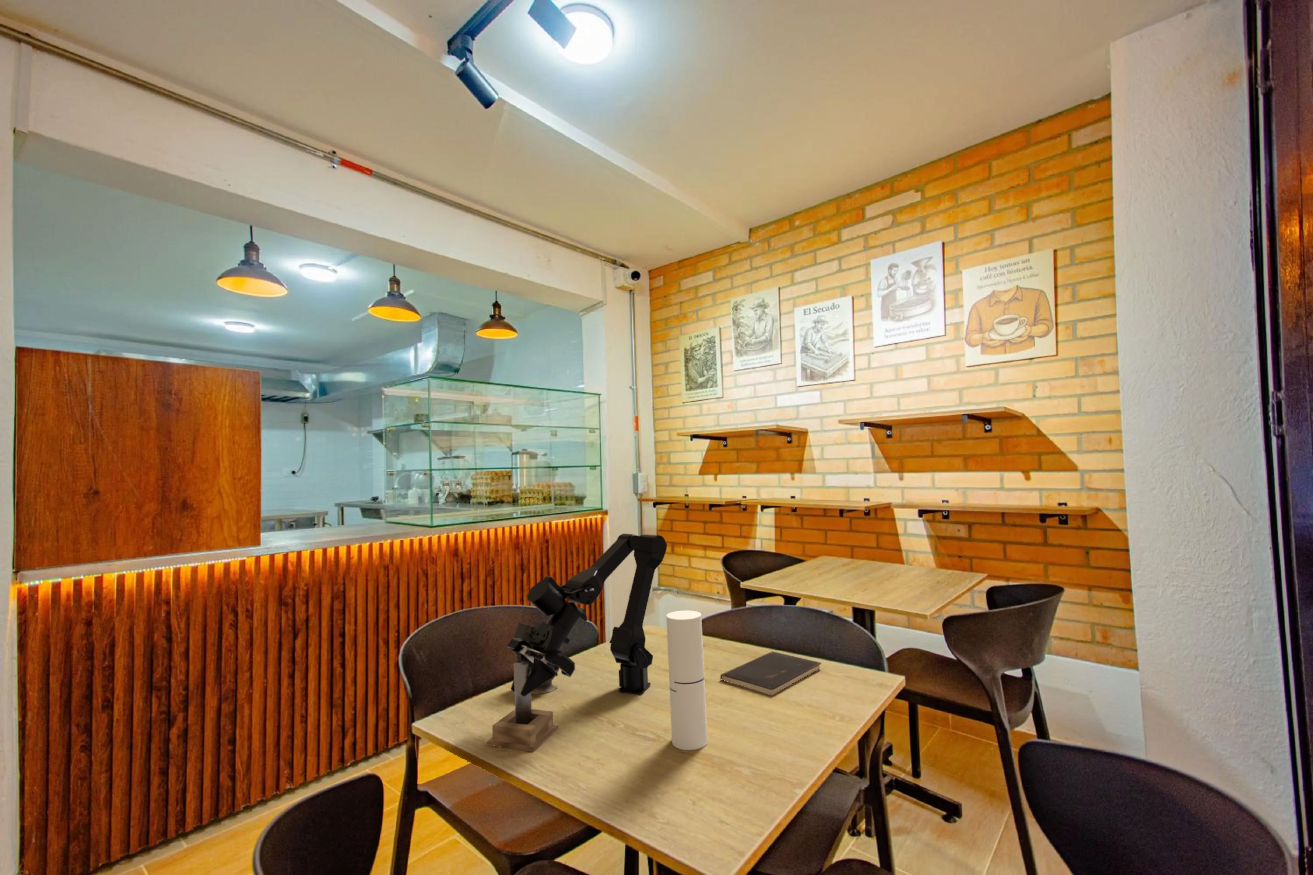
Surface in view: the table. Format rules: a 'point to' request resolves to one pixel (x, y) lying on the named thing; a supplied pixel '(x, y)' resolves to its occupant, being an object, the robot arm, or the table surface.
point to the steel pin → (521, 702)
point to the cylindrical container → (686, 680)
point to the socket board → (523, 731)
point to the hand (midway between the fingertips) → (517, 693)
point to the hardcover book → (771, 672)
